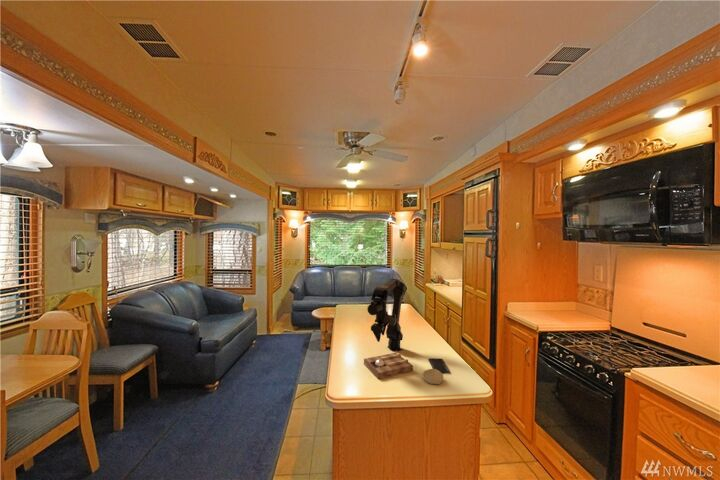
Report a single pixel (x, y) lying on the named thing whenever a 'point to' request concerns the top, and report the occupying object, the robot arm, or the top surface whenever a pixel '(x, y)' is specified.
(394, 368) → the hole deck
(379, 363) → the steel ball
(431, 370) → the sea urchin shell
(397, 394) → the top surface
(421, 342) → the top surface
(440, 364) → the phone
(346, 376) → the top surface
